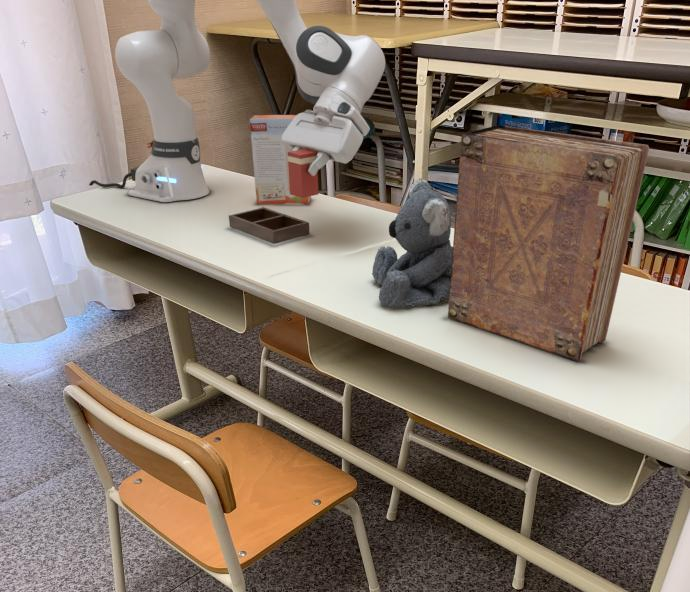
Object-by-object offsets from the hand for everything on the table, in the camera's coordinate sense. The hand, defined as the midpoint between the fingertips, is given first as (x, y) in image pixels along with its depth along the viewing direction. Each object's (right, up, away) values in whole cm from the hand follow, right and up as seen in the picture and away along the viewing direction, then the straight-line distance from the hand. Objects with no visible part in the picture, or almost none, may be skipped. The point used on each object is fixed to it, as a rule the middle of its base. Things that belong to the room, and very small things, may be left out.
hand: (300, 171), depth 145 cm
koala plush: (+24, -29, -13) cm, 40 cm away
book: (+40, -39, -28) cm, 62 cm away
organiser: (-9, -7, +18) cm, 21 cm away
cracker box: (-7, +8, +40) cm, 41 cm away
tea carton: (+1, -4, +3) cm, 5 cm away
